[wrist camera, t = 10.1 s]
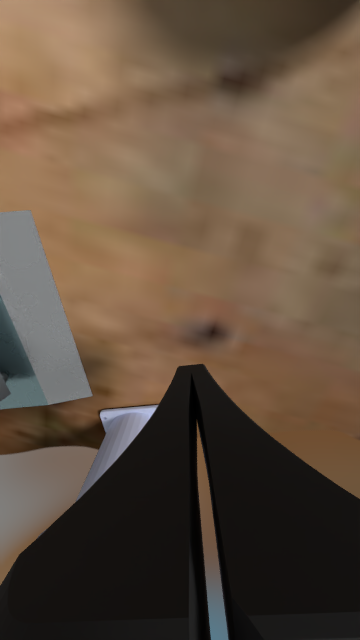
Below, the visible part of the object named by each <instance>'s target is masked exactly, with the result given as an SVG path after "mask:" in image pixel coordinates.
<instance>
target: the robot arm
mask: <svg viewBox="0 0 360 640" xmlns="http://www.w3.org/2000/svg"><path fill="white" fill-rule="evenodd" d="M100 417H101V420H102V423H103V426H104V429H105V432H106V435H105V438H104V440H103V442H102V444H101V447H100V449H99V451H98V453H97V455H96V458H95V460H94V462H93V464H92V467H91V469H90V471H89V473H88V475H87V478H86V480H85V482H84V484H83V486H82V489H81V491H80V493H79V495H78V497H77V500H76V502H75V503H74V504H73V505H72V506H71V507H70V508H69V509H68V510H67V511H66V512H65V513H64V514H63V515H62V516H60V517H59V518H58V519H57V520H56V521H55V522H54V523H53V524H52V525H51V526H50V527H49V528H48V529H46V530H45V531H44V532H42V533H41V534H40V535H39V536H38V538H37V539H36V540H35V541H34V542H33V543H32V544H31V545H29V546H28V547H27V548H26V549H25V550H24V551H23V552H22V553H21V554H20V555H19V556H18V558H17V559H16V561H15V563H14V564H13V566H12V568H11V569H10V571H9V572H8V574H7V576H6V577H5V579H4V581H3V582H2V584H1V585H0V640H211V637H210V626H209V613H208V602H207V590H206V578H205V566H204V554H203V542H202V531H201V518H200V505H199V493H198V477H197V422H198V427H199V432H200V438H201V442H202V447H203V453H204V458H205V463H206V468H207V474H208V480H209V486H210V494H211V502H212V510H213V518H214V526H215V534H216V542H217V550H218V558H219V566H220V574H221V582H222V589H223V590H222V591H223V599H224V606H225V615H226V622H227V630H228V639H229V640H360V499H359V498H357V497H355V496H354V495H352V494H351V493H349V492H348V491H346V490H345V489H343V488H341V487H340V486H338V485H337V484H335V483H334V482H332V481H331V480H330V479H328V478H327V477H325V476H324V475H322V474H321V473H319V472H318V471H317V470H315V469H314V468H312V467H311V466H309V465H308V464H307V463H305V462H304V461H303V460H301V459H300V458H299V457H297V456H296V455H295V454H293V453H292V452H291V451H289V450H288V449H287V448H286V447H284V446H283V445H281V444H280V443H279V442H278V441H276V440H275V439H274V438H273V437H271V436H270V435H269V434H268V433H267V432H265V431H264V430H263V429H262V428H261V427H260V426H258V425H257V424H256V423H255V422H254V421H253V420H252V419H250V418H249V417H248V416H247V415H246V414H245V413H244V412H243V411H242V410H241V409H240V408H239V407H238V406H237V405H236V404H235V403H234V402H233V401H232V400H231V399H230V398H229V397H228V396H227V394H226V393H225V392H224V391H223V390H222V389H221V387H220V386H219V385H218V384H217V383H216V381H215V380H214V379H213V377H212V376H211V375H210V373H209V372H208V370H207V369H206V367H205V365H203V364H197V365H187V366H179V367H178V368H177V371H176V373H175V376H174V378H173V380H172V382H171V384H170V386H169V388H168V390H167V392H166V393H165V395H164V397H163V399H162V400H161V402H160V403H159V405H152V406H141V407H130V408H119V409H107V410H102V411H101V413H100Z"/></svg>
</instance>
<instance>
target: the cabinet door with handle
mask: <svg viewBox="0 0 360 640" xmlns="http://www.w3.org/2000/svg"><path fill="white" fill-rule="evenodd" d="M7 380H8V376H7V374H6V373H4V372H0V402H1V401H2V400H3V399H5V398H6V397H7V396H9V395H10V394H11V393H10V391H9V389H8V387H7V385H6V382H7Z"/></svg>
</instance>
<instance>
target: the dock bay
mask: <svg viewBox="0 0 360 640" xmlns="http://www.w3.org/2000/svg"><path fill="white" fill-rule="evenodd" d="M0 372H4V373H6V374H7V376H8V380H7V382H6V385H7V387H8V389H9V391H10V393H11V394H10V395H9V396H7V397H6V398H5V399H3V400H2V401H1V402H0V409H8V408H19V407H30V406H41V405H50V404H55V403H60V402H65V401H70V400H75V399H80V398H85V397H90V396H93V395H92V392H91V389H90V386H89V383H88V380H87V377H86V374H85V371H84V368H83V365H82V362H81V359H80V356H79V353H78V350H77V347H76V344H75V341H74V338H73V335H72V332H71V329H70V326H69V323H68V320H67V317H66V314H65V311H64V308H63V305H62V302H61V299H60V296H59V293H58V290H57V287H56V284H55V281H54V279H53V276H52V273H51V270H50V267H49V264H48V261H47V258H46V255H45V252H44V249H43V246H42V243H41V240H40V237H39V234H38V231H37V228H36V225H35V222H34V219H33V216H32V213H31V210H26V211H13V212H0Z"/></svg>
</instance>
